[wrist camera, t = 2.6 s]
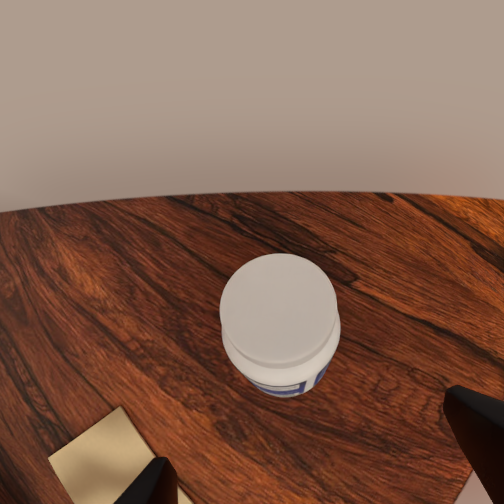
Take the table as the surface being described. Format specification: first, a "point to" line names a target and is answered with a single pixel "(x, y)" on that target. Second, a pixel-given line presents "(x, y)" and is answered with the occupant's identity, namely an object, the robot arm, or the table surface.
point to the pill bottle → (280, 323)
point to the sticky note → (104, 461)
